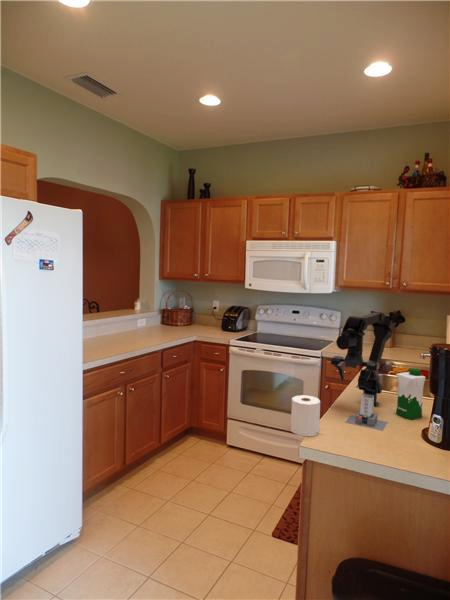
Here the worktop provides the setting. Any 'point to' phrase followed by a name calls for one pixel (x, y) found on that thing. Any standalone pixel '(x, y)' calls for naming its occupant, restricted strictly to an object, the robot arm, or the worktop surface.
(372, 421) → the stand
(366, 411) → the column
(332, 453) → the worktop surface
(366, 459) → the worktop surface
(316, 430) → the toilet paper
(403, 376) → the milk carton
